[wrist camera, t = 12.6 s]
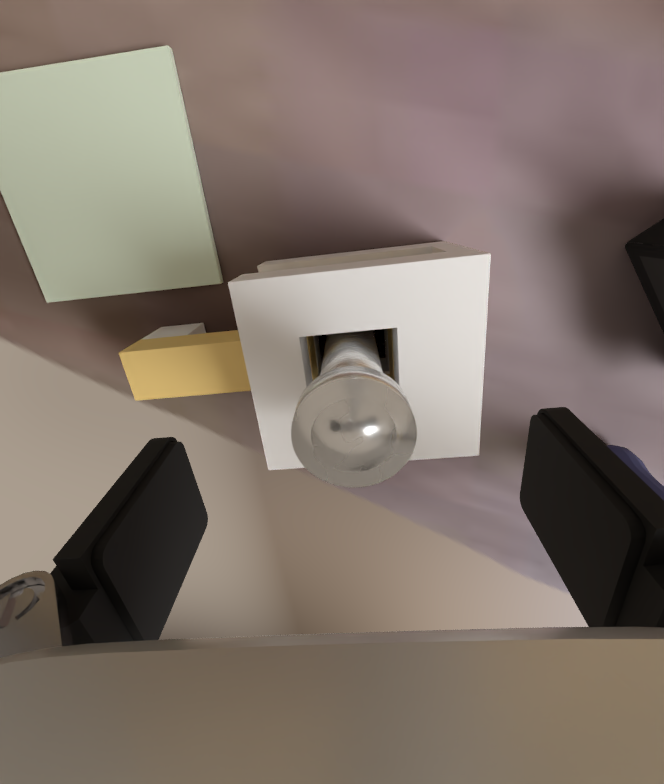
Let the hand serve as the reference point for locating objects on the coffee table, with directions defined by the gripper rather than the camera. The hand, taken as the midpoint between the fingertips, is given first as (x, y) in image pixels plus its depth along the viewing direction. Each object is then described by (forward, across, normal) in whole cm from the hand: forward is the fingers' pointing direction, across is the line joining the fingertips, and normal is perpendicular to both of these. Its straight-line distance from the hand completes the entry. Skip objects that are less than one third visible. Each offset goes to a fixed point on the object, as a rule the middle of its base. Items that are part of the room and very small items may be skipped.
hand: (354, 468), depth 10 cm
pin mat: (+17, +14, -8) cm, 24 cm away
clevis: (+17, +4, +2) cm, 17 cm away
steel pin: (+17, 0, +2) cm, 17 cm away
